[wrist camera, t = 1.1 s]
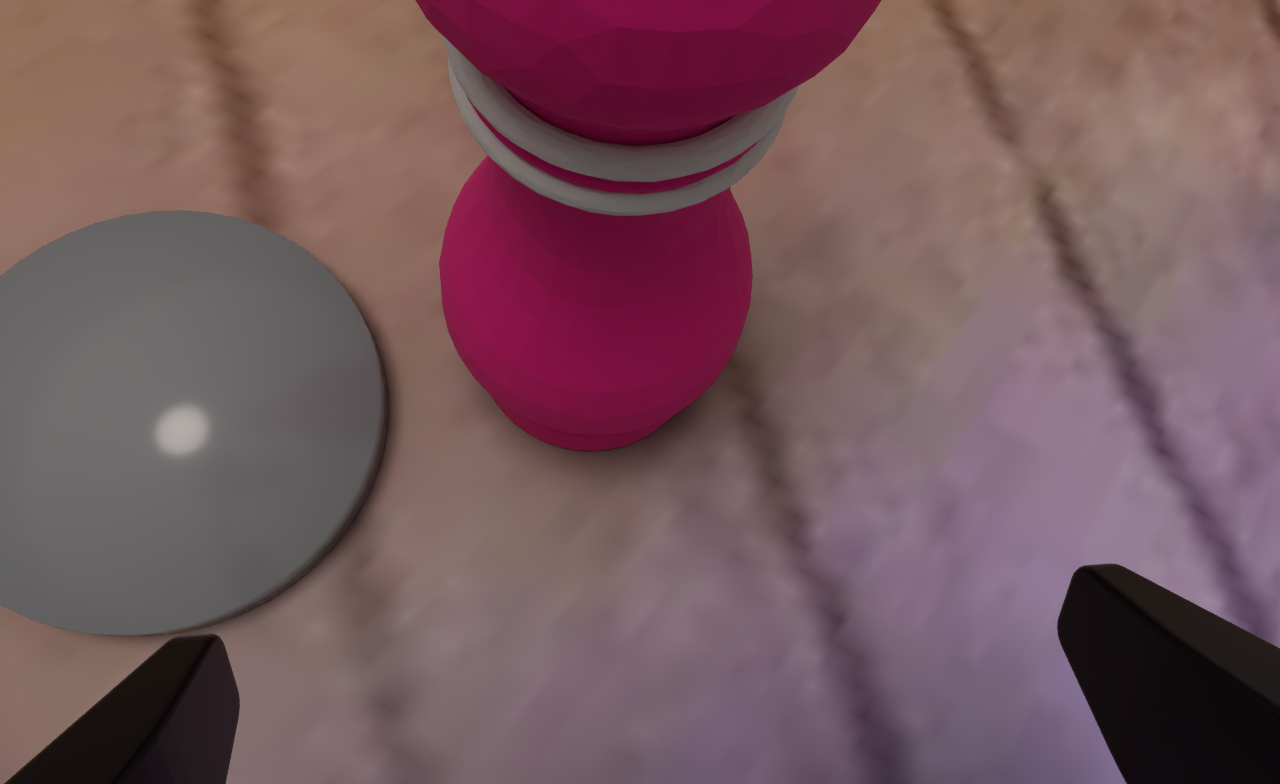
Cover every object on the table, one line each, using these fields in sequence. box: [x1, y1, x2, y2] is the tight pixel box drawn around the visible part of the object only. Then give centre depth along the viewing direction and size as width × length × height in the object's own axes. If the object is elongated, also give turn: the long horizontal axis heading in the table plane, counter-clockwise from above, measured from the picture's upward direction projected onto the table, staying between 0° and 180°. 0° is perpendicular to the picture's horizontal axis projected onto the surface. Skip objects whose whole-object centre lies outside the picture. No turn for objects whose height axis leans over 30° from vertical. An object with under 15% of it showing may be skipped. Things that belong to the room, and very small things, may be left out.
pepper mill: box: [416, 0, 881, 451], centre depth 15 cm, size 7×7×20 cm
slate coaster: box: [0, 211, 388, 636], centre depth 22 cm, size 11×11×1 cm
